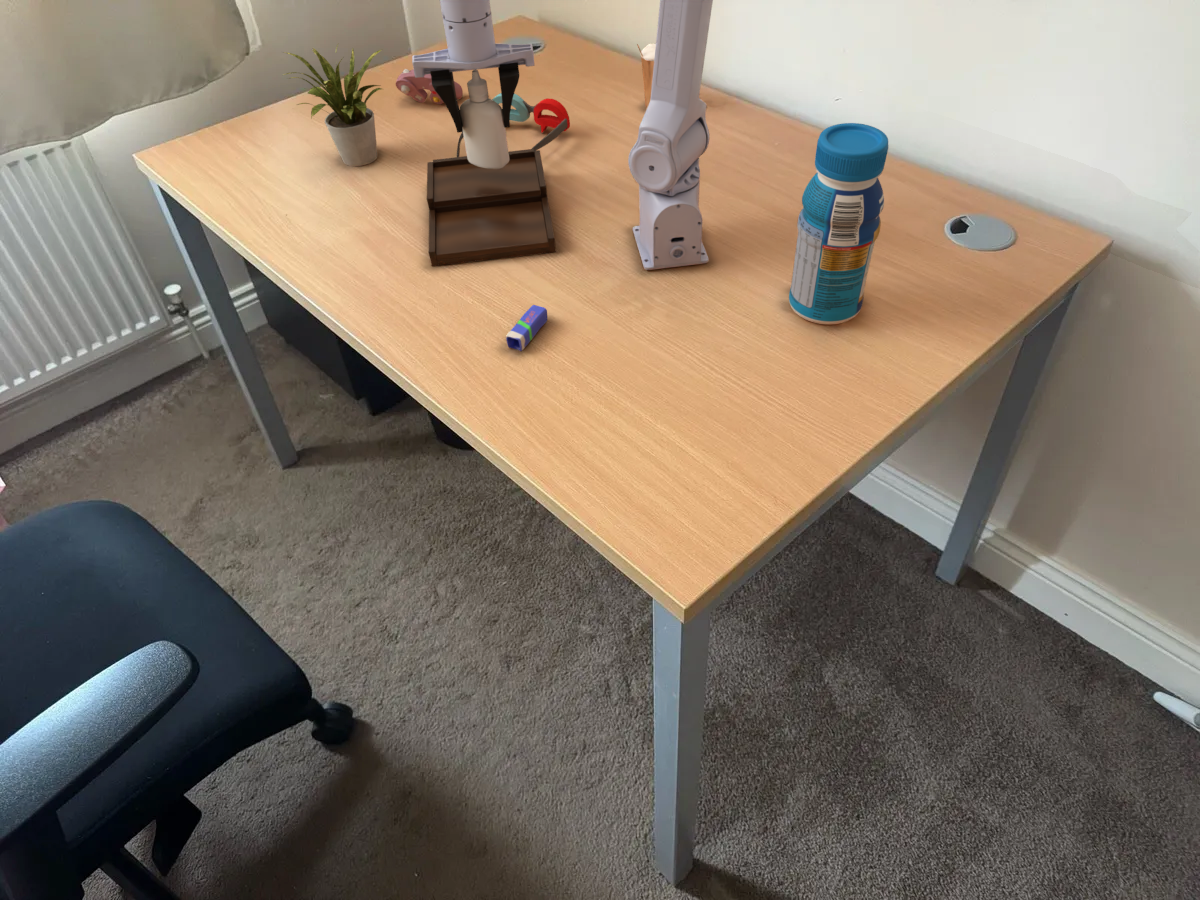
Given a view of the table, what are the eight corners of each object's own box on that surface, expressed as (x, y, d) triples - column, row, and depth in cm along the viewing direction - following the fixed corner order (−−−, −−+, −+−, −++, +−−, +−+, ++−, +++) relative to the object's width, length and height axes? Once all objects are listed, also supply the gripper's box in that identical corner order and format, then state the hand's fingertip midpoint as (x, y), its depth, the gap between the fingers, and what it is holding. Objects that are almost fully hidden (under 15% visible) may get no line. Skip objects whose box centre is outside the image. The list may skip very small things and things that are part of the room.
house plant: (285, 178, 123) (246, 64, 111) (328, 134, 132) (296, 24, 121) (375, 186, 120) (345, 69, 109) (412, 140, 130) (388, 28, 118)
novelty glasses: (575, 132, 129) (572, 100, 125) (529, 179, 120) (525, 145, 116) (495, 119, 133) (491, 87, 130) (445, 163, 124) (439, 130, 121)
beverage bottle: (771, 306, 97) (791, 139, 82) (815, 274, 101) (842, 109, 86) (834, 337, 93) (866, 167, 78) (877, 302, 96) (916, 134, 82)
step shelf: (555, 252, 107) (553, 224, 104) (431, 266, 106) (425, 238, 103) (542, 174, 120) (539, 147, 118) (432, 186, 120) (426, 160, 117)
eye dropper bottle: (492, 149, 115) (479, 59, 106) (513, 165, 111) (502, 73, 103) (464, 159, 113) (448, 68, 104) (485, 176, 110) (470, 83, 101)
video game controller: (404, 110, 141) (387, 80, 134) (412, 87, 142) (396, 56, 135) (459, 115, 138) (444, 85, 132) (466, 92, 140) (452, 61, 133)
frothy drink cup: (631, 104, 134) (630, 39, 127) (661, 97, 136) (662, 31, 128) (644, 116, 131) (644, 49, 124) (675, 108, 133) (676, 41, 125)
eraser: (506, 348, 94) (504, 334, 93) (534, 317, 98) (532, 303, 96) (522, 353, 93) (520, 338, 92) (549, 322, 97) (547, 307, 95)
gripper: (526, -4, 102) (537, 106, 112) (405, 7, 101) (427, 118, 111) (530, 17, 97) (541, 131, 107) (403, 29, 96) (426, 143, 106)
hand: (483, 126), depth 109 cm, fingers closed on eye dropper bottle, 5 cm apart
